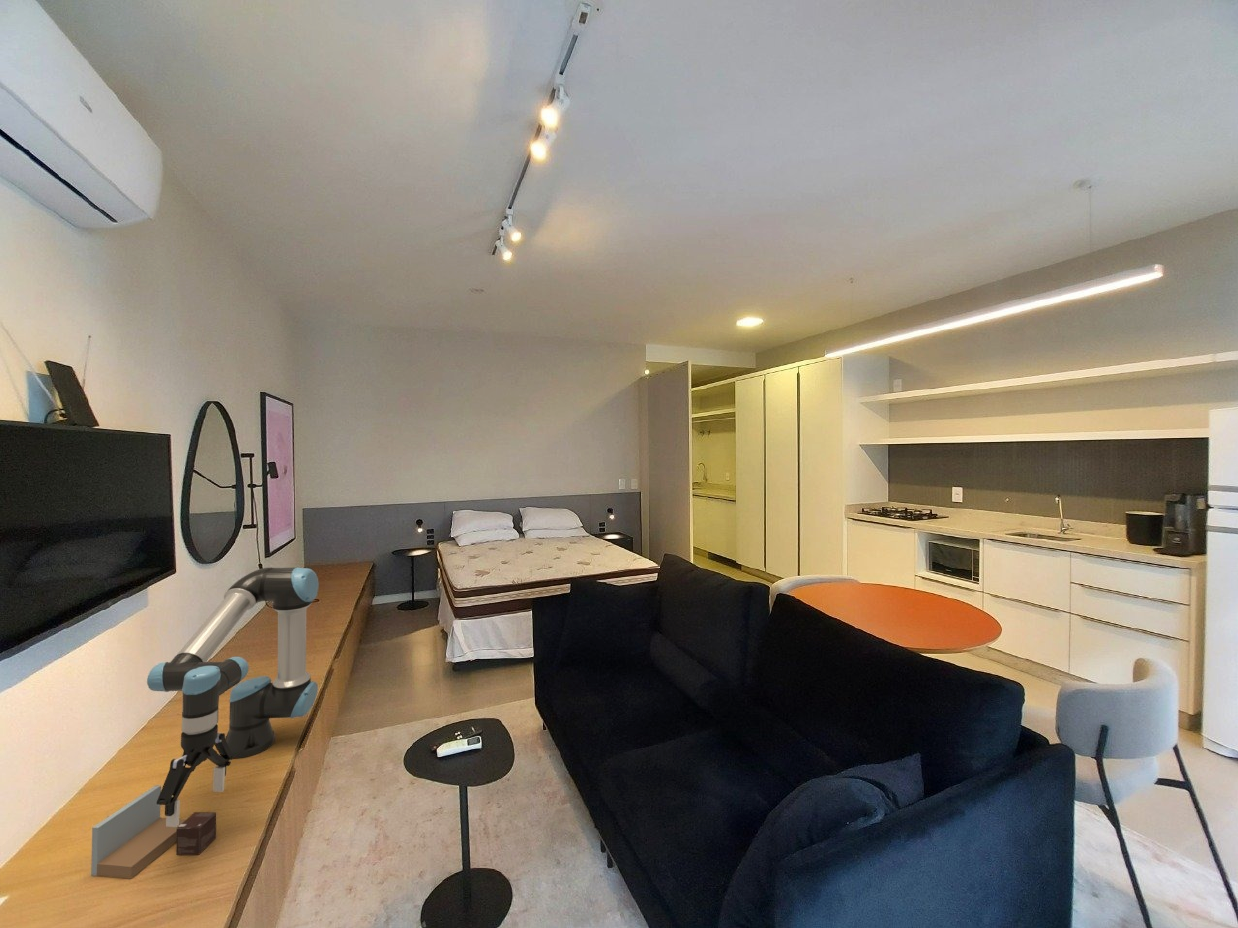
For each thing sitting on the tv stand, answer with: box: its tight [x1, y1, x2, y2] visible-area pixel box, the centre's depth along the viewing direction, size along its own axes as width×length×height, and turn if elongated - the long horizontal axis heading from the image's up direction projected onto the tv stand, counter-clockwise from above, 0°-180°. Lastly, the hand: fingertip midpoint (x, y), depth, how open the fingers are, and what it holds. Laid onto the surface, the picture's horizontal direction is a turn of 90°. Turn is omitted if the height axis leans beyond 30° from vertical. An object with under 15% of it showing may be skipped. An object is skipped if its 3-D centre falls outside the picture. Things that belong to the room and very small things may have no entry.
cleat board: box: [90, 784, 187, 880], centre depth 131 cm, size 16×10×12 cm, turn 177°
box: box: [175, 811, 217, 856], centre depth 133 cm, size 6×6×7 cm
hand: (196, 807), depth 133 cm, fingers open, 13 cm apart
